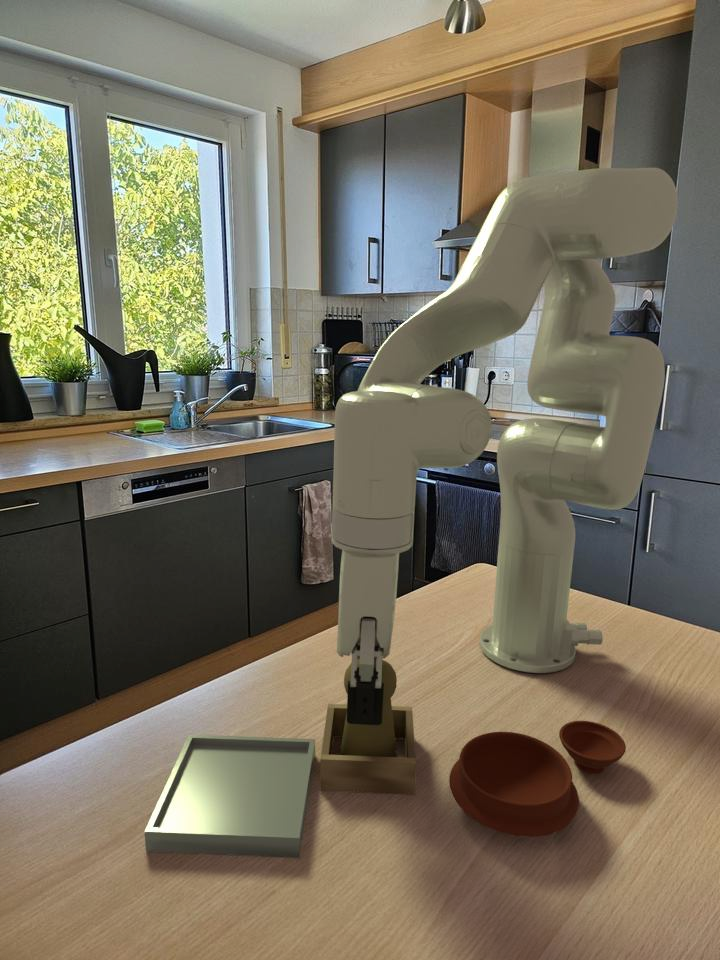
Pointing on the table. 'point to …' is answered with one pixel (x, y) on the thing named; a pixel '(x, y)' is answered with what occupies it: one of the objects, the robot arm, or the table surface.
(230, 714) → the table surface
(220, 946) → the table surface
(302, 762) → the tray
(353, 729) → the olive pawn
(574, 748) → the pottery
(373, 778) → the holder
